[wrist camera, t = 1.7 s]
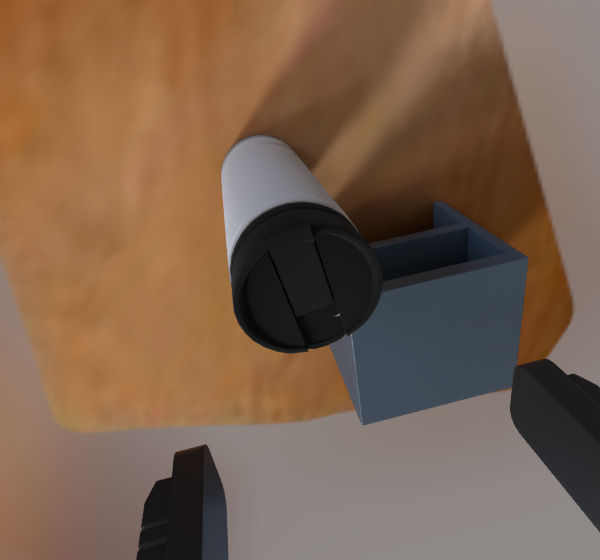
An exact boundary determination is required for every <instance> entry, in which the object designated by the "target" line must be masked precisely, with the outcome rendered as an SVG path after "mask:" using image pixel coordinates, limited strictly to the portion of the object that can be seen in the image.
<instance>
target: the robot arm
mask: <svg viewBox="0 0 600 560" xmlns="http://www.w3.org/2000/svg"><path fill="white" fill-rule="evenodd" d="M510 413H511V417H512V420H513V423H514V425H515V427H516V428H517V430H518V432H519V433H520V434H521V435H522V437H523V438H524V439H525V440H526V442H527V443H528V444H529V445H530V447H531V448H532V449H533V450H534V452H535V453H536V454H537V455H538V456H539V458H540V459H541V460H542V461H543V463H544V464H545V465H546V466H547V467H548V469H549V470H550V471H551V473H552V474H553V475H554V476H555V477H556V479H557V480H558V481H559V482H560V484H561V485H562V486H563V487H564V488H565V490H566V491H567V492H568V493H569V495H570V496H571V497H572V498H573V500H574V501H575V502H576V503H577V505H578V506H579V507H580V508H581V510H582V511H583V512H584V513H585V514H586V516H587V517H588V518H589V519H590V521H591V522H592V523H593V524H594V526H595V527H596V528H597V529H598V531H599V532H600V387H599V386H597V385H595V384H594V383H592V382H590V381H588V380H586V379H584V378H582V377H580V376H578V375H576V374H570V375H566V374H565V373H564V372H563V371H562V370H561V369H560V368H559V367H558V366H557V365H556V364H554V363H553V362H552V361H550V360H548V359H542V360H538V361H534V362H530V363H526V364H522V365H518V366H516V367H515V369H514V374H513V384H512V393H511V404H510ZM141 528H142V531H141V532H140V539H139V545H138V547H139V551H138V552H137V559H136V560H228V535H227V508H226V499H225V493H224V489H223V485H222V482H221V479H220V477H219V474H218V471H217V469H216V466H215V464H214V461H213V458H212V456H211V453H210V450H209V448H208V446H207V445H206V444H205V445H202V446H198V447H194V448H190V449H186V450H182V451H179V452H176V453H175V455H174V461H173V472H172V477H171V478H167V479H163V480H159V481H157V482H156V483H155V485H154V487H153V488H152V490H151V492H150V494H149V496H148V498H147V500H146V502H145V504H144V511H143V518H142V525H141Z"/></svg>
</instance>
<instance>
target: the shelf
mask: <svg viewBox="0 0 600 560" xmlns="http://www.w3.org/2000/svg"><path fill="white" fill-rule="evenodd" d="M368 244H369V245H370V247H371V248H372V249H373V251H374V252H375V254H376V255H377V257H378V259H379V262H380V265H381V267H382V274H383V286H382V293H381V296H380V299H379V302H378V305H377V306H376V308H375V310H374V312H373V313H372V315H371V316H370V318H369V319H368V320H367V321H366V323H365V324H364V325H363V326H362V327H360V328H359V329H358V330H356V331H355V332H353V333H352V334H350V335H349V336H347V334H345V335H344V336H343V337H342V338H341V339H340V340H338V341H336V342H333V343H331V344H329V345H330V348H331V350H332V353H333V355H334V357H335V360H336V362H337V365H338V367H339V370H340V372H341V375H342V377H343V380H344V382H345V385H346V387H347V390H348V392H349V395H350V397H351V400H352V402H353V404H354V407H355V409H356V412H357V414H358V417H359V419H360V422H361V424H362V425H367V424H371V423H375V422H378V421H382V420H386V419H390V418H394V417H398V416H401V415H405V414H409V413H413V412H417V411H420V410H425V409H428V408H432V407H436V406H440V405H444V404H448V403H452V402H455V401H459V400H463V399H467V398H471V397H475V396H479V395H483V394H486V393H490V392H494V391H498V390H502V389H506V388H510V387H512V384H513V374H514V369H515V367H516V366H517V358H518V349H519V339H520V330H521V321H522V312H523V303H524V293H525V284H526V275H527V266H528V257H527V256H525V255H524V254H522V253H521V252H519V251H517V250H516V249H514V248H513V247H511V246H510V245H508V244H507V243H505V242H504V241H502V240H501V239H499V238H498V237H496V236H495V235H493V234H491V233H490V232H488V231H487V230H485V229H484V228H482V227H481V226H479V225H478V224H476V223H475V222H473V221H472V220H470V219H468V218H467V217H465V216H464V215H462V214H461V213H459V212H458V211H456V210H455V209H453V208H452V207H450V206H449V205H447V204H445V203H444V202H442V201H440V202H435V203H434V229H431V230H427V231H422V232H418V233H413V234H409V235H404V236H400V237H395V238H391V239H386V240H382V241H377V242H373V243H368Z"/></svg>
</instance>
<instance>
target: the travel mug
mask: <svg viewBox="0 0 600 560" xmlns="http://www.w3.org/2000/svg"><path fill="white" fill-rule="evenodd" d="M221 180H222V192H223V205H224V217H225V229H226V242H227V254H228V266H229V276H230V282H231V286H232V297H233V307H234V313H235V316H236V318H237V321H238V324H239V325H240V326H241V328H242V329H243V331H244V332H245V333H246V334H247V335H248V336H249V337H250V338H251V339H252V340H253V341H255V342H256V343H258V344H260V345H262V346H263V347H265V348H268V349H271V350H274V351H277V352H283V353H289V354H290V353H299V352H308V349H316V348H320V347H323V346H326V345H329V344H331V343H333V342H336V341H338V340H340V339H341V338H342V337H343V336H344V335H345V334H347V336H349V335H350V334H352V333H353V332H355V331H356V330H358V329H359V328H360V327H362V326H363V325H364V324H365V323H366V321H367V320H368V319H369V318H370V316H371V315H372V313H373V312H374V310H375V308H376V306H377V305H378V302H379V299H380V296H381V293H382V286H383V274H382V267H381V265H380V262H379V259H378V257H377V255H376V254H375V252H374V251H373V249H372V248H371V247H370V245H369V244H368V243H367V242H366V240H365V239H364V238H363V237H362V236H361V234H360V233H359V231H358V230H357V228H356V227H355V226H354V224H353V223H352V221H351V220H350V219H349V218H348V217H347V215H346V214H345V213H344V211H343V210H342V209H341V208H340V207H339V205H338V204H337V203H336V202H335V201H334V199H333V198H332V197H331V196H330V194H329V193H328V192H327V191H326V190H325V188H324V187H323V186H322V185H321V184H320V182H319V181H318V180H317V179H316V177H315V176H314V175H313V174H312V173H311V171H310V170H309V169H308V168H307V167H306V165H305V164H304V163H303V162H302V160H301V159H300V158H299V157H298V156H297V154H296V153H295V152H294V151H293V149H292V148H291V147H290V146H289V145H287V144H286V143H285V142H283V141H282V140H280V139H278V138H276V137H273V136H268V135H254V136H250V137H247V138H245V139H243V140H241V141H239V142H238V143H237V144H235V145H234V146H233V147H232V148H231V149H230V151H229V152H228V153H227V155H226V157H225V159H224V162H223V165H222V171H221Z"/></svg>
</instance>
